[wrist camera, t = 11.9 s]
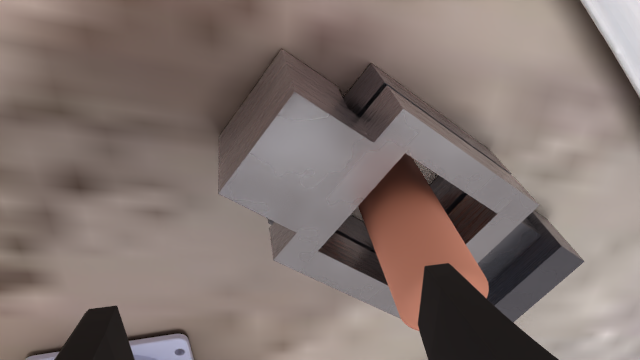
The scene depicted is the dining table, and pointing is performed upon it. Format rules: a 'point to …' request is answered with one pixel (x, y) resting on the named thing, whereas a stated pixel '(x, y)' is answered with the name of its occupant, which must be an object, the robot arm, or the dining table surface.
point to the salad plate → (620, 32)
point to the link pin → (413, 237)
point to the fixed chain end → (512, 252)
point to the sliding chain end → (349, 174)
